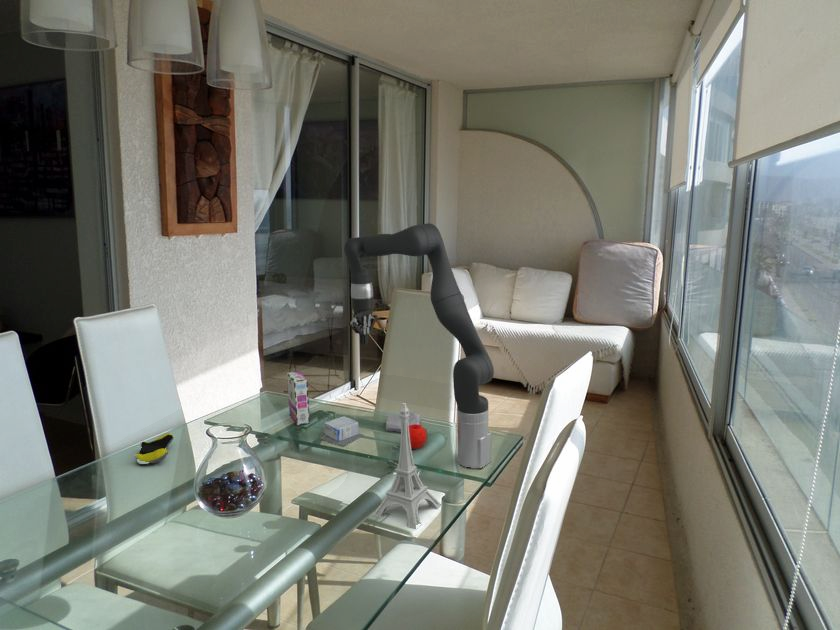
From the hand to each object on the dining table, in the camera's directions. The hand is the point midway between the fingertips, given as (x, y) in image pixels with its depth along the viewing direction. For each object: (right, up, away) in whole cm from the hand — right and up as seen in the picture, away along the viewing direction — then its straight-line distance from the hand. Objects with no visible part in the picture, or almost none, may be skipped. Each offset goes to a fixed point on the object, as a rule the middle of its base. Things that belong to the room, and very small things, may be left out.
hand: (364, 344), depth 227 cm
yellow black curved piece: (-64, -35, -22) cm, 76 cm away
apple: (+18, -32, -19) cm, 41 cm away
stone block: (+14, -29, -4) cm, 32 cm away
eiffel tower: (+16, -41, -56) cm, 71 cm away
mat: (-6, -31, -11) cm, 33 cm away
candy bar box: (-23, -27, +6) cm, 36 cm away
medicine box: (-3, -27, -7) cm, 28 cm away
